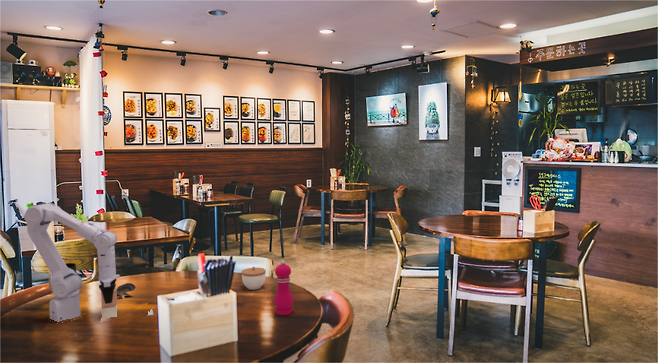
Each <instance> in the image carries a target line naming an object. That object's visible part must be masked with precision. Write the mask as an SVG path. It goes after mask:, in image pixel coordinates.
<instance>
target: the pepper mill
mask: <svg viewBox="0 0 658 363" xmlns="http://www.w3.org/2000/svg"><path fill="white" fill-rule="evenodd" d="M291 273H292V268H291V266H290V265H288V264H286V261H285V260H281V261H280V264H279V265H277V266H276V267H275V269H274V274H275V276H276V282H277V291H276V293H275V296H274V300H273V301H274V302H273V303H274V305H275V306H276V307H275V314H276V315H279V316H288V315H291V314H292V313H293V306H292V305H293V304H294V297H293V294H292V292H291V290H290V284H289V283H290V281H291V279H290V278H291V277H290V275H291Z"/></svg>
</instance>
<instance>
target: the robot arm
mask: <svg viewBox="0 0 658 363" xmlns="http://www.w3.org/2000/svg"><path fill="white" fill-rule="evenodd" d="M23 219H24V220H25V221H26V229H27V234H28V237H29V238H30V240H31V241H32V243H33V244H34V247H35V248H36V251H37V252H38V253H39V255H40V257H41V258H42V260H43V262H44V264H45V265H46V267H47V269H48V271H49V272H50V275H51V274H52V276H51V280H50V283H51V286H52V291H53V292H52V291H51V292H52V293H53V295H54V296H55V298H51V299H50V300H49V304H48V305H49V306H48V308H49V319H52V320H54V321H57V322H59V321H62V320H66V319H72V318H75V317H78V316H80V314H81V300H80V298H81V297H80V289H81V288H82V286H83V280H82V277H81V276H80V275H78V273H77V272H76V273H77V274H76V273H75V272H74V270H72V269H70V268H68V267H67V266H66V264H65V263H66V262H65V261H64V259H63V257H62V255H61V254H60V252H59V250H58V249H57V247H56V245H55V243H54V241H53V240H52V237H51V236H50V235H49V233H48V231H47V230H48V228H49V226H50V224H51V223H52V222H58V223H60V224H63V225H64V226H66V227H68V228H71V229H73V230H75V231H76V233H77V235H78V236H79V237H81V238H83V239H84V240H87V241H88V242H90V243H92V244H93V245H94V247H95V248H96V251H97V262H98V263H97V266H98V267H97V268H98V281H99V283H100V284H98V287H99V290H100V291H101V292H102V294H103V297H104V301H105V303H106V304H107V303H112V299H113V292H114V289H115V287H116V286H117V283H116V282H117V279H118V278H120V276H121V275H120V274H117V269H116V265H117V264H116V251H115V250H116V249H115V248H116V247H115V244H117V241H118V237H117V235H116V234H115V233H114V232H113V231H111V230H106V229H105V228H100V227H98V226H97V225H94V224H95V223H94V222H93V221H84V222H83V221H81V220H79V219H78V218H76V217H74V216H73V215H71V214H69V212H66V211H65V210H63V209H62V208H61V207H60V206H59V205H55V204H54V203H52V202H46V203H42V204H37V205H30V206H28V208H27V209H26V210H25V213H24V215H23ZM101 292H100V293H101ZM60 318H61V319H60Z"/></svg>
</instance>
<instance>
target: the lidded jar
mask: <svg viewBox="0 0 658 363" xmlns="http://www.w3.org/2000/svg"><path fill="white" fill-rule="evenodd" d="M266 271H267V270H266V268H263V267H255V266H252V267H250V268H249V267H248V268H244V269H243V270H241V278H242V282H243V285H244V286H245V287H246V289H247V290H250V291H251V290H259V289H261V288H262V286H263V285H264V284H265V281H266V273H267V272H266Z"/></svg>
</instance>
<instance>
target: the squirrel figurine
mask: <svg viewBox="0 0 658 363" xmlns="http://www.w3.org/2000/svg"><path fill="white" fill-rule="evenodd" d="M116 289H117V298H121V299H123V298H125V299H126V297H125V296H128V297H131V296H130V295H131V294H129V292H133V291H135V290H136V285H135V284H133V283H130V282H125V283H124V284H121V285H119V286H118V287H116Z"/></svg>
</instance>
